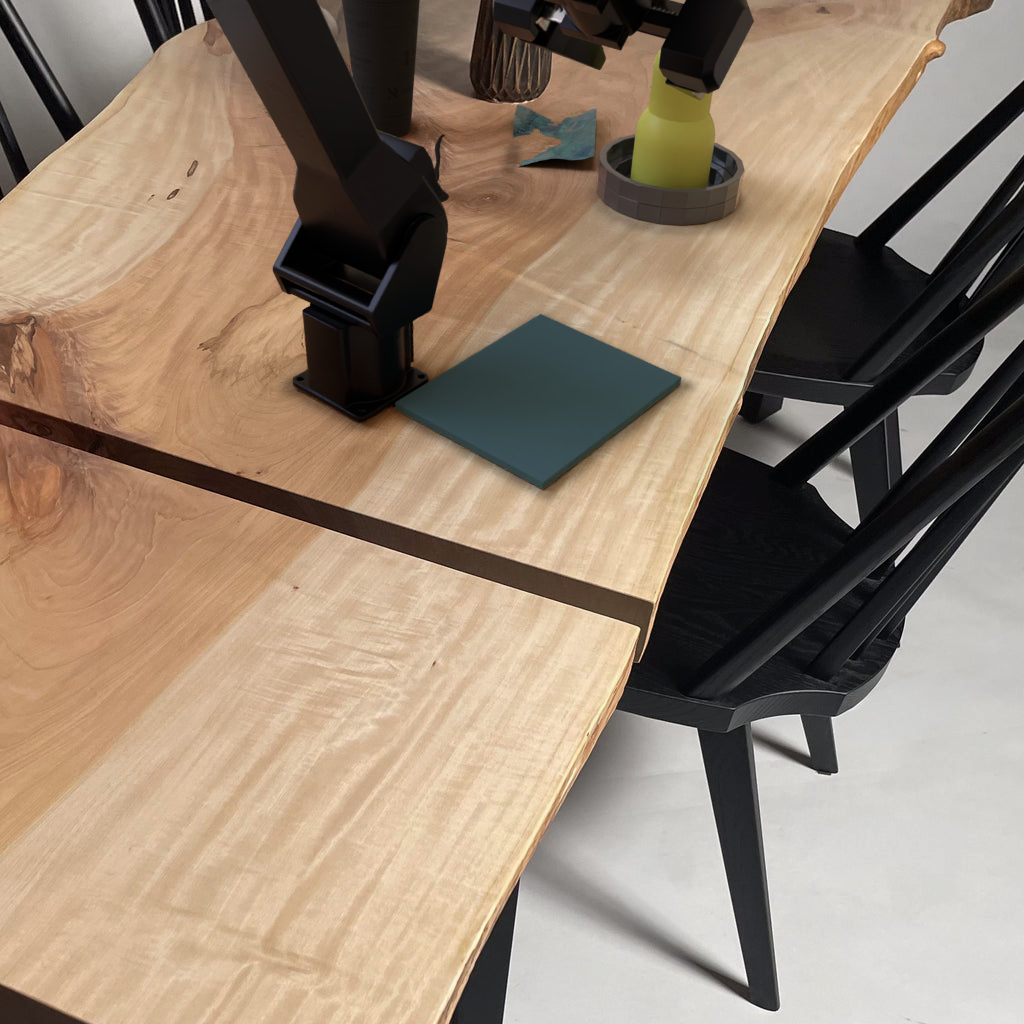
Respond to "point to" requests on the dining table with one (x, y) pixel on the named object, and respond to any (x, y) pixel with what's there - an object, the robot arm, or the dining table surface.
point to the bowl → (668, 201)
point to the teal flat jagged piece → (559, 134)
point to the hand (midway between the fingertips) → (651, 78)
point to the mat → (539, 398)
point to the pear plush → (673, 138)
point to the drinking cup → (384, 58)
